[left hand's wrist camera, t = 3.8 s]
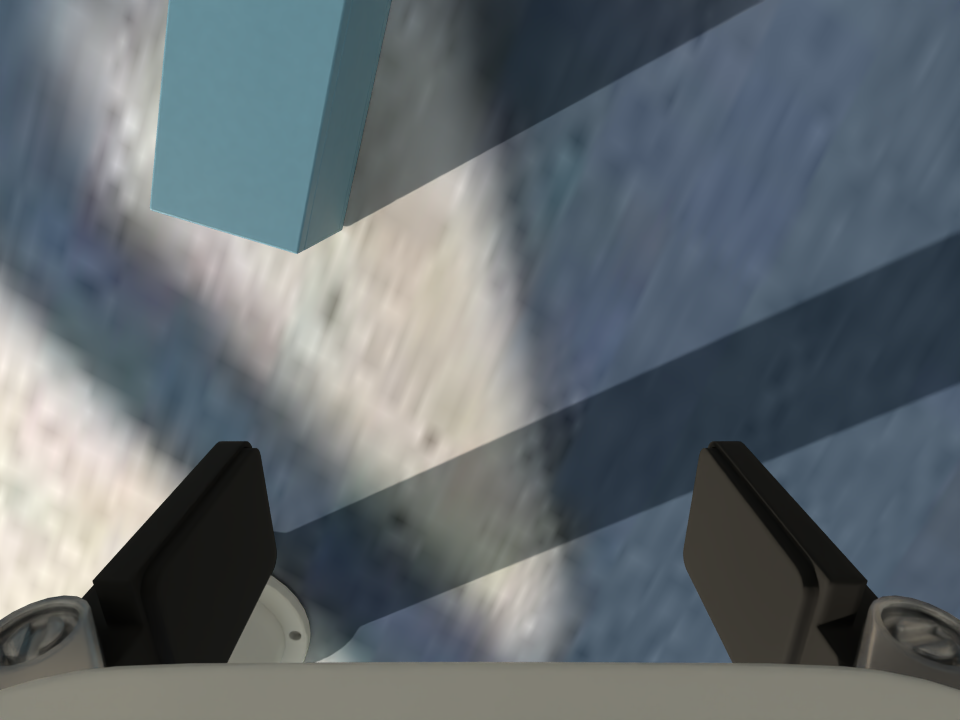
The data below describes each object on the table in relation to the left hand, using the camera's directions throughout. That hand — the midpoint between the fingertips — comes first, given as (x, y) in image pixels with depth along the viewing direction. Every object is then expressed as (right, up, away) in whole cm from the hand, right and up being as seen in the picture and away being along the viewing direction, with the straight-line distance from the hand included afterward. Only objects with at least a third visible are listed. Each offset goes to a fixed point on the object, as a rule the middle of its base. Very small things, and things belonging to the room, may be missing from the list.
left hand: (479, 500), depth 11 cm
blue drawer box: (-8, +18, +15) cm, 25 cm away
